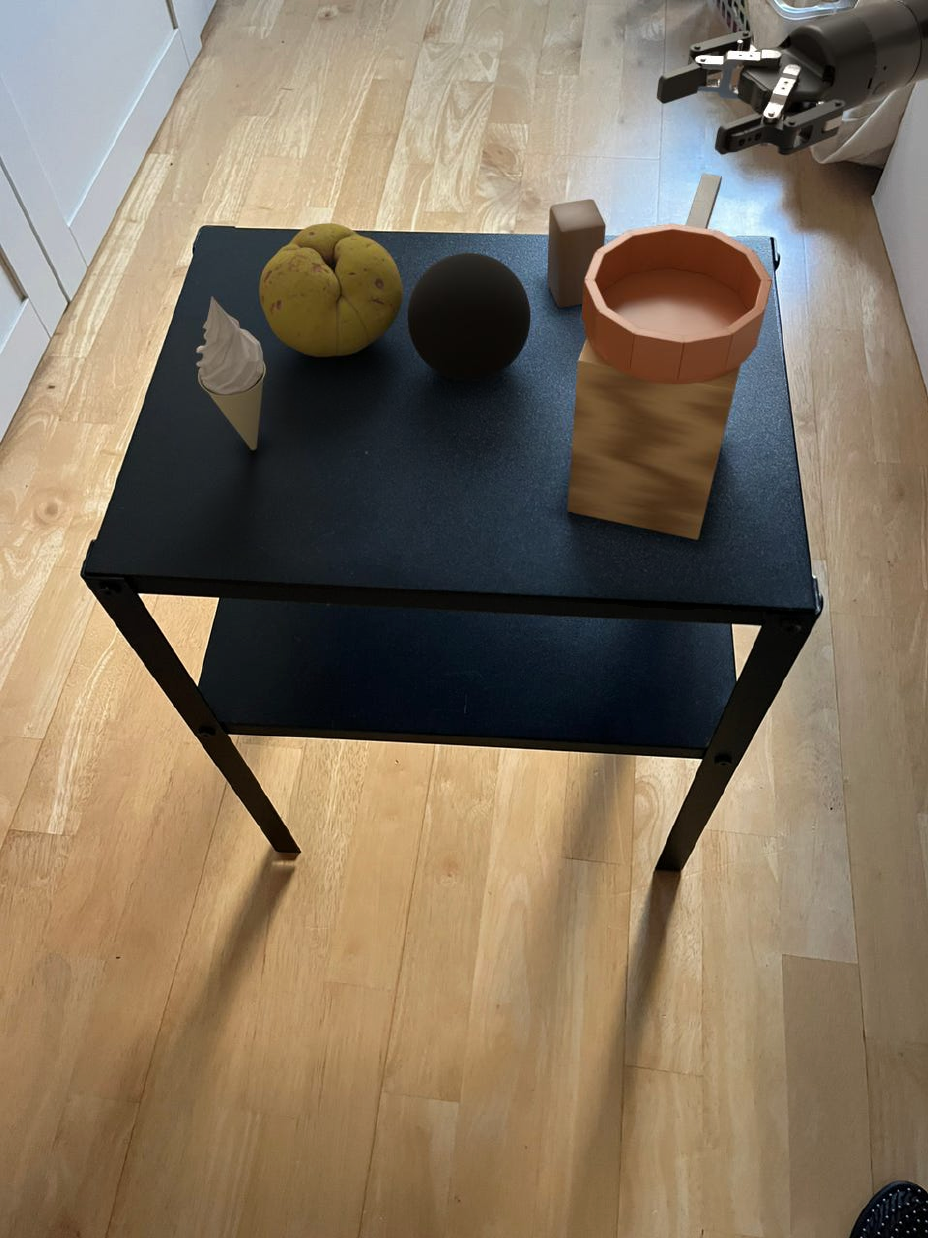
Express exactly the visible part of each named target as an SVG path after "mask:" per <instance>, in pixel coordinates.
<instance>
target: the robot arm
mask: <svg viewBox="0 0 928 1238" xmlns="http://www.w3.org/2000/svg"><path fill="white" fill-rule="evenodd" d="M752 39H753V32H752V31H750V30H746V29H744V30H739V31H736V32H732V33H729V34H725V35H722V36H718V37H714V38H711V39H708V40H705V41H704V40H703V41H701V42H697V43H693V44H691V45H690V46H689V51H688V52H689V53H688V59H687V65H685V66H682V67H679V68H676V69H672V70H669V71H667V72H664V73H663V74H662V75H661V76H660V77H659V79H658V82H657V88H656V89H657V90H656V99H657V101H659V102H660V103H661V104H663V105H666V104H669V103H672V102H674V101H677V100H680V99H683V98H686V97H689V96H692V95H695V94H698V92H702V93H703V92H705V93H717V94H718V96H719V97H720V98H721V99H727V100H740V101H741V102H743V103H745V104H747V105H749V106H750V107H751V109H752V110H753V111H754V112H755V113H752V114H749V115H747V116H744V117H741V118H738V119H734V120H732V121H729V122H727V123H724V124H723V123H722V125H720V126H719V128H717V131H716V137H715V143H714V150H715V151H716V152H717V153H718V154H720V155H721V156H724V155H726V154H730V153H737V152H740V151H742V150H746V149H749V148H752V147H755V146H757V145H759V146H762V147H770V146H772V145H773V146H776V147H777V148H776V149H777V150H776V151H777V153H778V154H779V155H782V156H790V155H792V154H794V153H797V152H799V151H803V150H804V149H807V148H808V147H812V146H813V145H816V144H818V143H821V142H823V141H826V140H828V139H830V138H832V137H835V136H837V135H838V133H839V130H840V127H841V124H842V120H843V116H844V113H845V112H847V111H849V110H852V109H856V108H858V107H861V106H864V105H867V104H869V103H872V102H874V101H878V100H879V99H882V98H883V97H886V96H887V95H889V94H891V93H893V92H895V91H897V90H899V89H901V88H904V87H907V86H910V85H913V84H916V83H918V82H922V81H925V80H927V79H928V0H884V1H879V2H872V3H867V4H866V3H865V4H863V5H860V6H859V5H858V6H856V7H853V8H850V9H847V10H845V11H840V12H838V13H835V14H832V15H829V16H826V17H822V18H820V19H817V20H813V21H811V22H808V23H805V24H802V25H799V26H797V27H796V28H794V29H793V30H791V32H790V33H789V34H788V35H787V36H786V37H785V38H784V40H782V42H780V44H778V45H777V46H776V47H763V48H762V47H761V48H757V47H755V46H754V45H753V44H752V41H753V40H752ZM709 54H710V55H709ZM739 67H742V68H741V70H740V72H739V75H738V81H737V85H734V84H731V80H732V74H733V71H738V70H739ZM719 73H721V77H720V78H719V79H717V78H708V77H709V76H712V75H715V74H719ZM798 131H799V132H798Z"/></svg>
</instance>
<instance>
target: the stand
mask: <svg viewBox="0 0 928 1238" xmlns="http://www.w3.org/2000/svg"><path fill="white" fill-rule="evenodd" d="M741 367H742V364H741V365H740V366H739V367H737V368H735V369H734V370H732V371H731V372H729V373H727V374H725V375H723V376H720V377H718V378H715V379H712V380H708V381H704V382H699V383H692V384H662V383H655V382H650V381H646V380H642V379H638V378H636V377H633V376H630V375H628V374H625V373H623V372H621V371H619V370H617V369H616V368H614V367H612V366H611V365H609V364H608V363H607V362H606V361H604V360H603V359H602V358H601V357H600V356H599V355H598V354H597V353H596V352H595V350H594V349H593V348H592V347H591V345H590V343H589V341H588V339H587V337H586V339H585V341H584V343H583V346H582V349H581V352H580V354H579V357H578V360H577V370H576V385H575V397H574V398H575V399H574V412H573V427H572V429H573V430H572V442H571V454H570V455H571V456H570V469H569V472H570V473H569V484H568V495H567V496H568V498H567V511H566V512H568V513H573V514H577V515H583V516H586V517H591V518H595V519H599V520H604V521H610V522H613V523H619V524H622V525H627V526H632V527H636V528H641V529H646V530H651V531H655V532H659V533H663V534H668V535H673V536H678V537H681V538H686V539H692V540H696V541H697V540H699V537H700V534H701V531H702V525H703V521H704V518H705V514H706V510H707V505H708V502H709V499H710V495H711V494H710V493H711V490H712V485H713V482H714V478H715V474H716V469H717V465H718V462H719V457H720V453H721V449H722V445H723V442H724V438H725V433H726V429H727V424H728V420H729V417H730V413H731V408H732V404H733V399H734V396H735V391H736V388H737V383H738V379H739V375H740V370H741Z"/></svg>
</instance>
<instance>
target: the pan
mask: <svg viewBox="0 0 928 1238" xmlns="http://www.w3.org/2000/svg"><path fill="white" fill-rule="evenodd" d="M722 181H723V176H721V175H715V174H708V173H707V174H706V173H702V174H701V177H700V179H699V182H698V183H699V184H698V186H697V189H696V192H695V195H694V198H693V202H692V204H691V207H690V210H689V214H688V216H687V220H686V223H685V224H678V223H665V224H658V225H652V226H647V227H640V228H634V229H629V230H627V231H625V232H623V233H621V234H620V235H618V236H617V237H615V238H613V239H612V240H611V241H609V242H607V243H606V244H604V246H603V247H601V248H600V249H598V250H596V252H595V254H594V256H593V259H592V261H591V264H590V266H589V269H588V271H587V274H586V276H585V279H584V288H583V302H582V304H581V320H582V322H583V329H584V333H585V337H586V338H587V339H588V341H589V343H590V345H591V347H592V348H593V349H594V350H595V352H596V353H597V354H598V355H599V356H600V357H601V358H602V359H603V360H604V361H606V362H607V363H608V364H609V365H611V366H612V367H614V368H616V369H617V370H619V371H621V372H623V373H625V374H628V375H630V376H633V377H636V378H638V379H642V380H646V381H650V382H655V383H662V384H692V383H699V382H704V381H708V380H712V379H715V378H718V377H720V376H723V375H725V374H727V373H729V372H731V371H732V370H734V369H735V368H737V367H739V366H740V365H741V366H742V364H743V363H745V362H746V361H747V360H748V358H749V357H750V356H751V354H752V353H753V352H754V351H755V350H756V349H757V345H758V342H759V337H760V334H761V329H762V326H763V322H764V318H765V314H766V310H767V305H768V302H769V297H770V293H771V289H772V284H773V279H772V277H771V276H770V275H769V272H768V271H767V268H765V265H764V264H763V263H762V261H761V259H760V258H759V256H758V254H757V253H756V251H755V250H754V249H752V248H750V247H748V246H747V245H745V244H743V243H741V242H740V241H738V240H736V239H734V238H732V237H730V236H729V235H727V234H726V233H724V232H722V231H720V230H716V229H710V228H709V225H710V221H711V219H712V215H713V212H714V210H715V209H714V208H715V205H716V202H717V198H718V195H719V192H720V189H721V187H722Z"/></svg>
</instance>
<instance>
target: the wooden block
mask: <svg viewBox="0 0 928 1238" xmlns="http://www.w3.org/2000/svg"><path fill="white" fill-rule="evenodd" d="M548 215H549V216H548V243H547V271H546V283H547V285H548V287H549V290H550V292H551V295H552V297H553V300H554V302H555V305H556V307H557V308H560V309H562V308H567V307H568V308H569V307H573V306H574V307H575V306H579V305H582V302H583V288H584V279H585V276H586V274H587V271H588V269H589V266H590V264H591V261H592V259H593V256H594V254H595V252H596V250H598V249H600V248H601V247H603V246H604V245H605V241H606V227H607V225H606V222H605V221H604V218H603V217H602V214H601V212H600V210H599V207H598V206H597V204H596V201H595V200H594V199H592V198H589V199H582V200H577V201H575V200H574V201H570V202H563V203H557V204H553V205H551V206H550V208H549V214H548Z"/></svg>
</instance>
